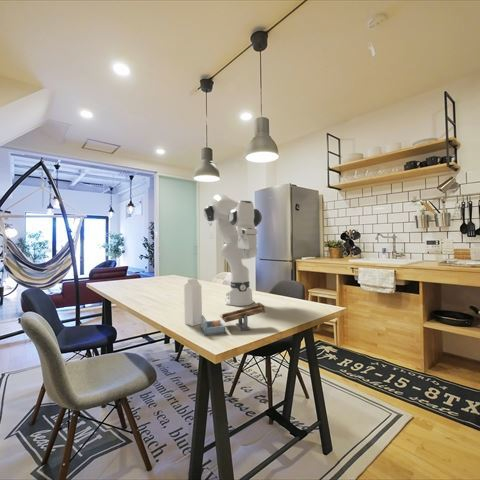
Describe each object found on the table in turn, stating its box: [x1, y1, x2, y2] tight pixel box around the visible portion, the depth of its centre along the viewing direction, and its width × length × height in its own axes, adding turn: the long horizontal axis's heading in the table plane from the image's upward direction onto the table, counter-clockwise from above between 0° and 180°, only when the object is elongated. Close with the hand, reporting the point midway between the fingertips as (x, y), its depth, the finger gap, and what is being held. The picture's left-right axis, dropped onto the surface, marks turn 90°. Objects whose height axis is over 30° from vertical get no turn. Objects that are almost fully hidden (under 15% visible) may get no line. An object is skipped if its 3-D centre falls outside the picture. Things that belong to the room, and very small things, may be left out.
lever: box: [219, 302, 266, 323], centre depth 129 cm, size 19×12×4 cm, turn 107°
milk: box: [183, 277, 203, 327], centre depth 134 cm, size 6×6×22 cm
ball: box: [212, 320, 220, 327], centre depth 123 cm, size 4×4×4 cm
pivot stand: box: [235, 315, 252, 332], centre depth 126 cm, size 4×10×7 cm, turn 17°
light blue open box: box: [200, 314, 226, 337], centre depth 122 cm, size 10×9×6 cm
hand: (246, 258), depth 142 cm, fingers closed
